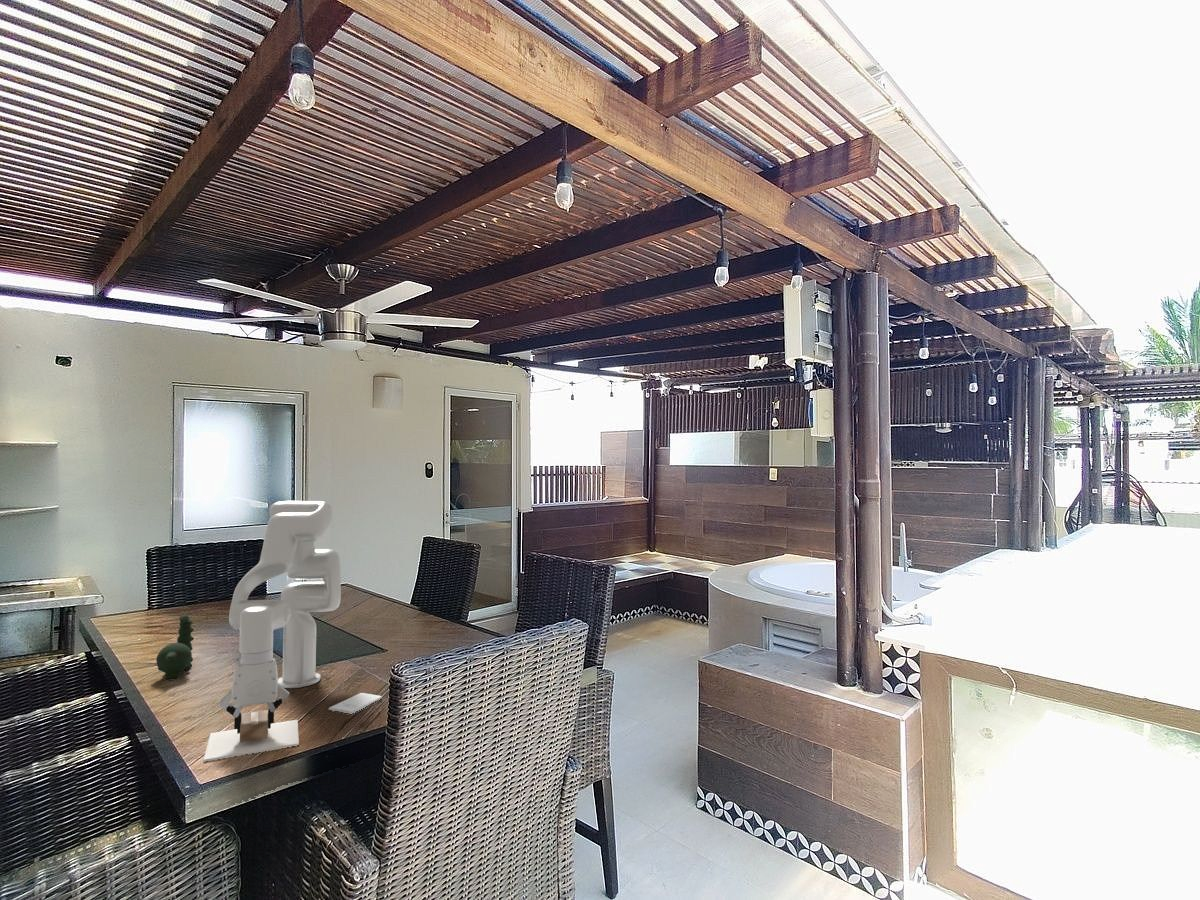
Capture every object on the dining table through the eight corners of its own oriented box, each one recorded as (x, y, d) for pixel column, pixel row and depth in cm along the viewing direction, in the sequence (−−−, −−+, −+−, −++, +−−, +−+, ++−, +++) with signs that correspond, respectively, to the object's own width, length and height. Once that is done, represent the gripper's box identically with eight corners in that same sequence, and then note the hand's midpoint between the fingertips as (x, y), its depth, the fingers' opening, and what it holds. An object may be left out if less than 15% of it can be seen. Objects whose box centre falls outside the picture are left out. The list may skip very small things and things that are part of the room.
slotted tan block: (239, 742, 151) (240, 727, 151) (241, 727, 160) (241, 712, 160) (267, 738, 154) (268, 722, 154) (267, 723, 163) (268, 708, 163)
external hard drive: (382, 701, 185) (351, 717, 174) (360, 697, 188) (328, 712, 177) (382, 696, 185) (351, 711, 174) (360, 692, 188) (328, 706, 177)
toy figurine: (168, 669, 215) (149, 686, 192) (171, 613, 217) (152, 623, 195) (200, 666, 219) (185, 682, 196) (202, 611, 221) (188, 620, 198)
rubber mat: (210, 735, 160) (210, 733, 160) (297, 721, 169) (297, 719, 169) (203, 762, 145) (203, 759, 145) (298, 745, 154) (298, 743, 154)
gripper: (214, 665, 150) (212, 741, 150) (294, 656, 158) (292, 728, 158) (217, 657, 157) (215, 729, 157) (293, 648, 165) (292, 717, 164)
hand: (254, 728), depth 157 cm, fingers closed on slotted tan block, 6 cm apart
